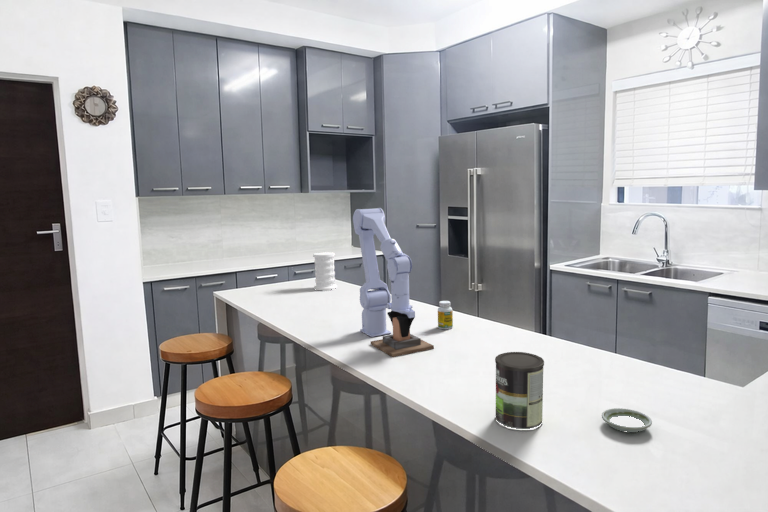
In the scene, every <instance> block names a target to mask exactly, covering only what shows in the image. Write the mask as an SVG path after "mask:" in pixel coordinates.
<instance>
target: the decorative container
mask: <svg viewBox="0 0 768 512" xmlns="http://www.w3.org/2000/svg"><path fill="white" fill-rule="evenodd" d="M312 257H314V261H313V263H314V270H315V273H314V276H315V280H314V281H315V285H314V286H313V290H314V289H316V290H315V291H317V290H330V291H332V290H331V289H335V288H337V289H338V284H336V277H335V275H336V271H335V268H336V267H335V259H334V257H336V253H335V252H332V251H326V252H325V251H322V252H314V253H313V255H312ZM335 290H336V289H335Z"/></svg>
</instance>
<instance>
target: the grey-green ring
mask: <svg viewBox="0 0 768 512" xmlns="http://www.w3.org/2000/svg"><path fill="white" fill-rule="evenodd" d="M618 416H629V417H630V416H631V417H634V418H636V419H639V420H641V421H642V422H643V423H644V425H645V426H642V427H626V426H620V425H617V424H614V423H612V422H610V419H611V418H612V417H618ZM601 418H602V420H603V422H605V423H606V424H607V425H608V426H610V427H611V428H613V429H615V430H616V429H618V430H621V431H627V432H636V433H639V432H642V431H645V430H647V429H649V428H651V426H652V423H653V421H652V418H651V417H649V416H648V415H647V414H645V413H643V412H641V411H638V410H635V409H629V408H623V407H622V408H620V407H616V408H609V409H608V408H607V409H605V410H603V412H602V413H601ZM618 430H617V431H618ZM621 431H620V432H621ZM638 431H639V432H638Z"/></svg>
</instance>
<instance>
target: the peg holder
mask: <svg viewBox="0 0 768 512" xmlns="http://www.w3.org/2000/svg"><path fill="white" fill-rule="evenodd" d="M370 345H371V346H373V347H374V348H376V349H378V350H380V352H383V353H385V354H386V355H388V356H390V357H391V358H395V357H400V356H404V355H405V356H406V355H411V354H416V353H420V352H424V351H429V350H433V349H434V347H435V346H434V345H433V344H431V343H429V342H427V341H425V340H423V339H422V338H420V337H418V336H415V335H414V334H411V333H410V339H408V340H403V341H396V340H394V339H393V334H386V335H384V336H383V335H382V339H376V340H372V341H371V340H370Z"/></svg>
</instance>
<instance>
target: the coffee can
mask: <svg viewBox="0 0 768 512" xmlns="http://www.w3.org/2000/svg"><path fill="white" fill-rule="evenodd" d="M494 362H495V416H496V420H497V421H498V422H499V423H501V424H503V425H504V426H507V427H511V428H516V429H530V428H534V427H537V426H539V425H540V424H541V423H542V421H543V407H544V405H543V402H544V401H543V400H544V366H545V361H544V359H543V358H542V357H541V356H539V355H536V354H533V353H530V352H523V351H510V352H509V351H508V352H503V353H500V354H498V355H496V356H495V359H494ZM496 420H495V421H496Z"/></svg>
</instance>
